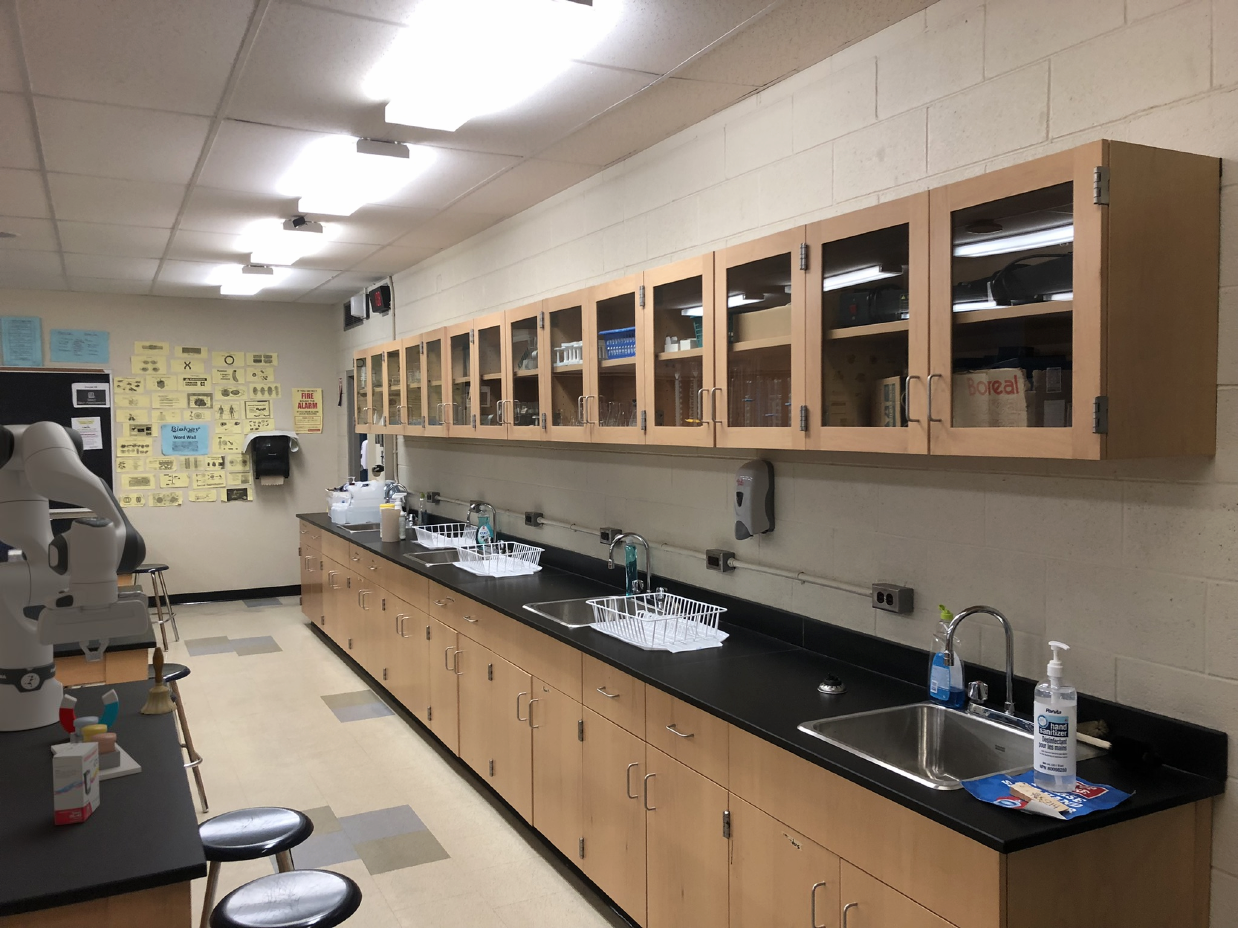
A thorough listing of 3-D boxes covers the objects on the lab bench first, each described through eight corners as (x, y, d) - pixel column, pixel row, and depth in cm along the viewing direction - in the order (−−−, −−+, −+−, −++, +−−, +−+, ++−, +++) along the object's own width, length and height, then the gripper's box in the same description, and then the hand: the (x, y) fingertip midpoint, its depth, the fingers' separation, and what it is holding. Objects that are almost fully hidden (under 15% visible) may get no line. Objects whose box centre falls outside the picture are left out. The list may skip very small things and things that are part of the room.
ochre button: (79, 748, 189) (79, 727, 189) (104, 743, 192) (104, 722, 192) (84, 753, 186) (84, 732, 186) (109, 749, 189) (109, 727, 189)
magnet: (118, 731, 210) (118, 688, 210) (118, 734, 208) (118, 690, 207) (59, 738, 204) (59, 694, 204) (58, 741, 202) (58, 697, 202)
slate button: (71, 739, 195) (71, 719, 195) (95, 735, 198) (95, 715, 198) (76, 744, 192) (76, 723, 192) (100, 740, 195) (100, 719, 195)
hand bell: (166, 714, 223) (166, 650, 223) (133, 714, 224) (133, 650, 224) (183, 705, 232) (183, 643, 232) (151, 705, 232) (151, 643, 232)
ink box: (84, 823, 156) (83, 755, 156) (51, 826, 155) (51, 757, 155) (100, 805, 165) (100, 740, 165) (70, 807, 164) (69, 742, 163)
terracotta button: (88, 757, 183) (87, 735, 183) (113, 752, 186) (113, 731, 186) (93, 763, 180) (93, 740, 180) (118, 758, 183) (118, 736, 183)
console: (51, 750, 196) (51, 732, 196) (108, 739, 203) (107, 722, 203) (78, 784, 175) (78, 764, 175) (141, 771, 182) (141, 752, 182)
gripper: (144, 588, 198) (144, 651, 198) (34, 598, 185) (34, 665, 185) (152, 591, 193) (152, 655, 193) (40, 601, 180) (40, 670, 180)
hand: (94, 660), depth 189 cm, fingers closed
